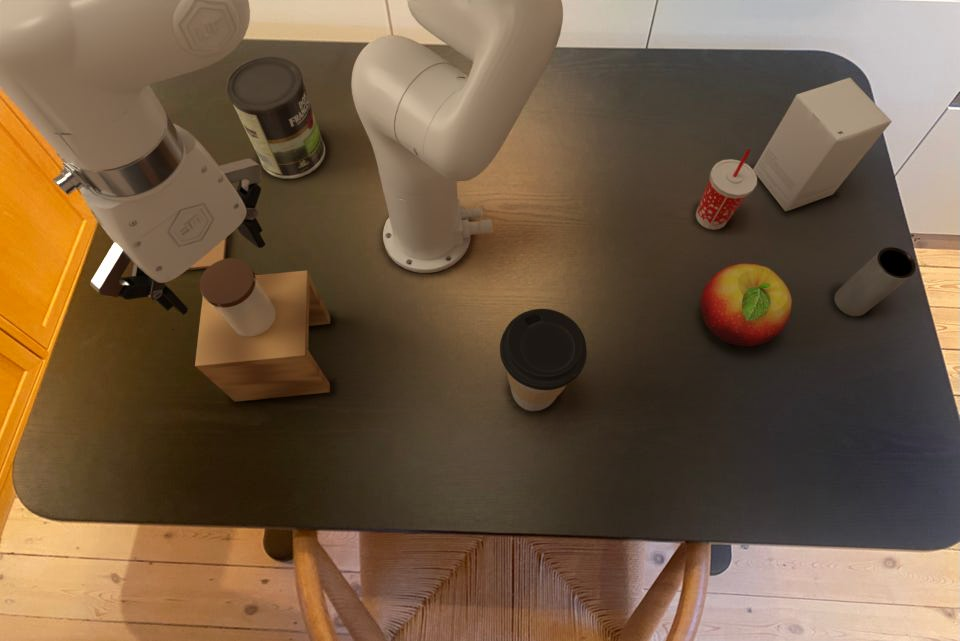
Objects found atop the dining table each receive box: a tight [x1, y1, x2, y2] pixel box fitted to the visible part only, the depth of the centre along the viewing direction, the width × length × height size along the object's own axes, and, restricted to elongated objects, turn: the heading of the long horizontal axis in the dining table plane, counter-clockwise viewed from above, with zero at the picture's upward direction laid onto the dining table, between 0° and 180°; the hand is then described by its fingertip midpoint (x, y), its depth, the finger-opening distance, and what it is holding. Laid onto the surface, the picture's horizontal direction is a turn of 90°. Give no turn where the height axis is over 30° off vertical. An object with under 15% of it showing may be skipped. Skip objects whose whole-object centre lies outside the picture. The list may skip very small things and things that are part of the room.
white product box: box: [752, 77, 893, 212], centre depth 85 cm, size 9×9×15 cm
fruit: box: [699, 263, 793, 347], centre depth 77 cm, size 11×11×10 cm
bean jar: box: [199, 257, 276, 337], centre depth 65 cm, size 5×5×8 cm
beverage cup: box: [695, 148, 758, 231], centre depth 83 cm, size 6×6×14 cm
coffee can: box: [225, 56, 326, 180], centre depth 89 cm, size 10×10×14 cm
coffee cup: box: [499, 308, 588, 412], centre depth 70 cm, size 9×9×15 cm
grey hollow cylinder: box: [833, 246, 917, 317], centre depth 78 cm, size 4×4×10 cm
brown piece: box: [194, 270, 331, 403], centre depth 74 cm, size 12×11×12 cm
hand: (216, 271), depth 59 cm, fingers open, 9 cm apart
